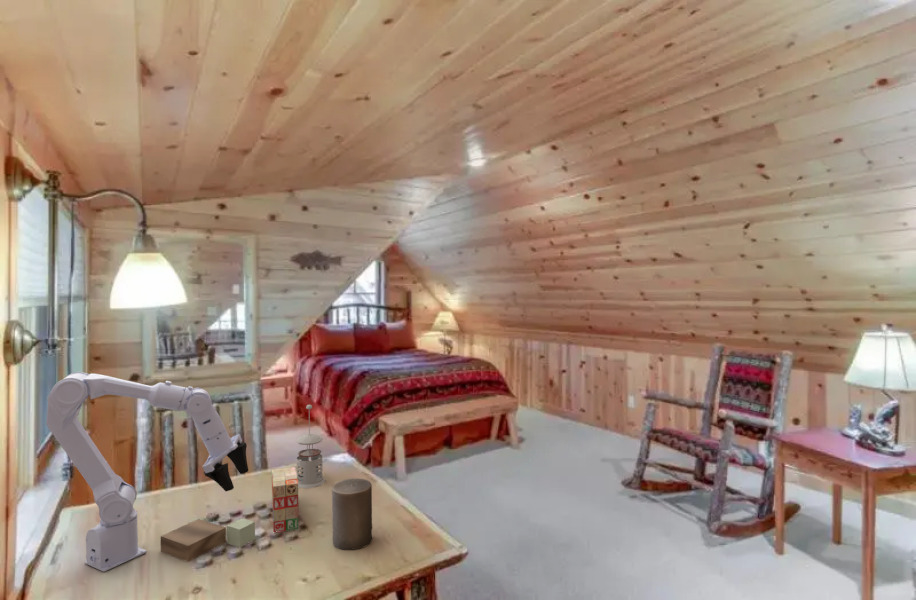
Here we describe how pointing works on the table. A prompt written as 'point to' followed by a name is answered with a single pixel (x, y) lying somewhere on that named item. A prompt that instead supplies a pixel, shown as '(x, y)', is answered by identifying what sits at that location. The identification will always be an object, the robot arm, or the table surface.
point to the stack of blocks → (284, 499)
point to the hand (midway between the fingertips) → (237, 480)
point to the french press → (309, 468)
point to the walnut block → (193, 539)
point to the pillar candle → (352, 513)
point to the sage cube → (240, 532)
